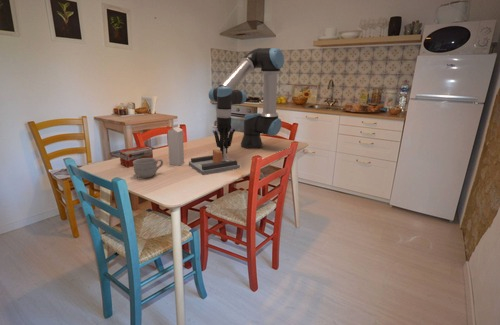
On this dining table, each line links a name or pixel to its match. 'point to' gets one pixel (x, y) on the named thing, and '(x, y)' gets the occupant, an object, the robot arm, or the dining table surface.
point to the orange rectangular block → (217, 156)
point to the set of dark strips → (212, 166)
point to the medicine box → (134, 155)
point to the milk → (175, 146)
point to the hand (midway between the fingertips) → (223, 159)
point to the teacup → (146, 167)
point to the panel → (198, 167)
